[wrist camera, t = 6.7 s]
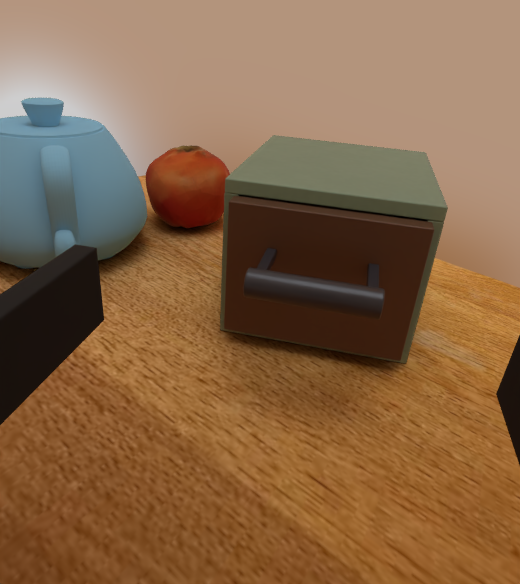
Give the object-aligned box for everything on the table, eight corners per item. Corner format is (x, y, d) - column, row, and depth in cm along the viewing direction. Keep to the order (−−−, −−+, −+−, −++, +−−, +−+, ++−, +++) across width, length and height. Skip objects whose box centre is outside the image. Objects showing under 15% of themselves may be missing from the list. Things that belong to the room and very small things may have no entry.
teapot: (174, 280, 39) (171, 120, 33) (-122, 323, 31) (-197, 123, 25) (125, 204, 55) (117, 85, 49) (-81, 220, 47) (-123, 80, 41)
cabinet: (406, 364, 31) (448, 207, 26) (219, 330, 34) (224, 178, 28) (398, 270, 44) (426, 152, 39) (264, 250, 46) (273, 135, 41)
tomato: (177, 244, 46) (176, 161, 42) (131, 216, 52) (126, 140, 48) (250, 226, 52) (255, 151, 48) (201, 202, 57) (201, 133, 54)
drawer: (403, 415, 26) (446, 267, 21) (199, 374, 28) (200, 230, 23) (394, 271, 42) (417, 169, 38) (265, 251, 44) (273, 152, 39)
